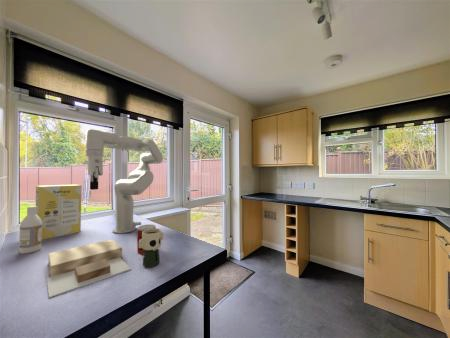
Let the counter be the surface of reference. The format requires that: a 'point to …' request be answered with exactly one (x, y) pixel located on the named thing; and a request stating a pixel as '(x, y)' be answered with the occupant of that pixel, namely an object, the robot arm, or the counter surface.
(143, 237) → the character mug
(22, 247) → the bath foam
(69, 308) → the counter surface
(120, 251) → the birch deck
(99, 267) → the walnut tile
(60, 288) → the cream mat
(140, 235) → the canned food
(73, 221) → the pasta box
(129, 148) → the robot arm
